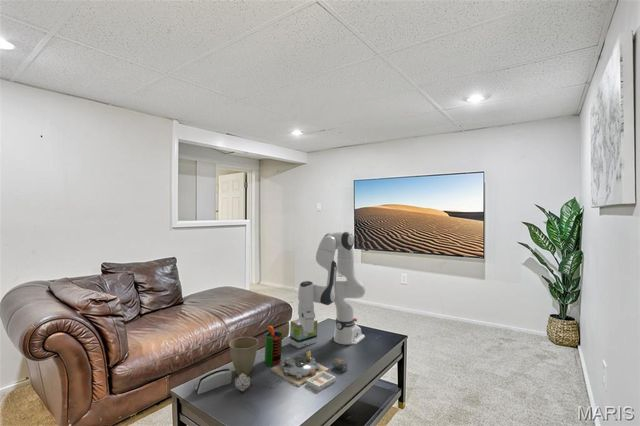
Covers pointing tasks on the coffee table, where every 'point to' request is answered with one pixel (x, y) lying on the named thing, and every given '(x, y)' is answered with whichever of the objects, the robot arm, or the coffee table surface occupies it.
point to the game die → (242, 382)
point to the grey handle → (213, 380)
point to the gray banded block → (340, 364)
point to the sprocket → (300, 366)
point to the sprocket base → (294, 379)
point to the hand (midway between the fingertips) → (305, 335)
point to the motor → (273, 347)
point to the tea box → (301, 334)
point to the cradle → (321, 381)
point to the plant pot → (243, 353)
